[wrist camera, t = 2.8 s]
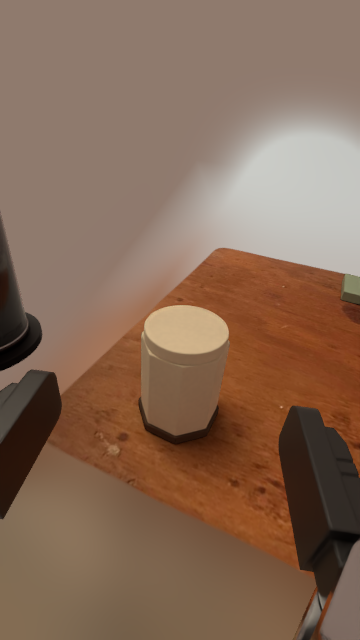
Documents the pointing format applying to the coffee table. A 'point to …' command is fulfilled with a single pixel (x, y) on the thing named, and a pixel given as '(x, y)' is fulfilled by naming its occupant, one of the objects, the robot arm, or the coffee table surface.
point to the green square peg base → (351, 289)
